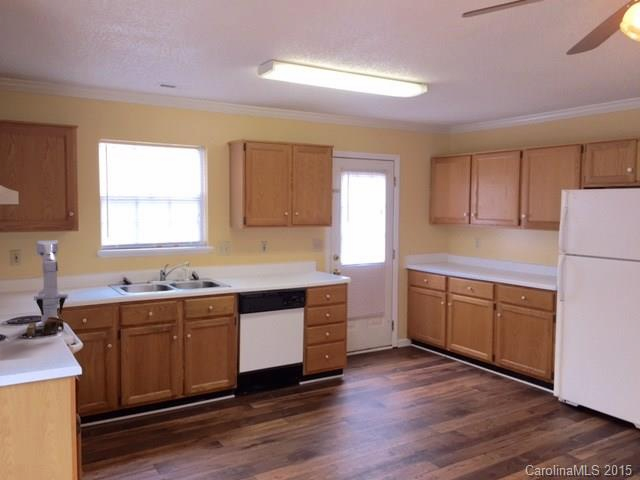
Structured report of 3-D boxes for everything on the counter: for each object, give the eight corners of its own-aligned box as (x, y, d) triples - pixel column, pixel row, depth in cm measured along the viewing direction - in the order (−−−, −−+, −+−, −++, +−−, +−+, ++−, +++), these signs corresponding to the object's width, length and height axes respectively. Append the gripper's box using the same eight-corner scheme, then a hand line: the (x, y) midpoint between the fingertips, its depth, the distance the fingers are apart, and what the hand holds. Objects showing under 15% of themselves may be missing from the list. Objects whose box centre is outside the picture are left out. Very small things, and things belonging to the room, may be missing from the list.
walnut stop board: (30, 330, 264) (30, 322, 264) (36, 330, 265) (35, 322, 264) (27, 336, 253) (26, 327, 252) (32, 335, 254) (32, 327, 253)
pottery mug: (37, 333, 261) (42, 317, 265) (55, 338, 267) (61, 323, 271) (48, 330, 254) (54, 314, 257) (67, 336, 260) (72, 319, 264)
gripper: (32, 288, 248) (33, 317, 249) (66, 286, 253) (67, 314, 254) (34, 286, 255) (35, 314, 256) (68, 284, 260) (68, 312, 261)
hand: (51, 314), depth 255 cm, fingers open, 7 cm apart
